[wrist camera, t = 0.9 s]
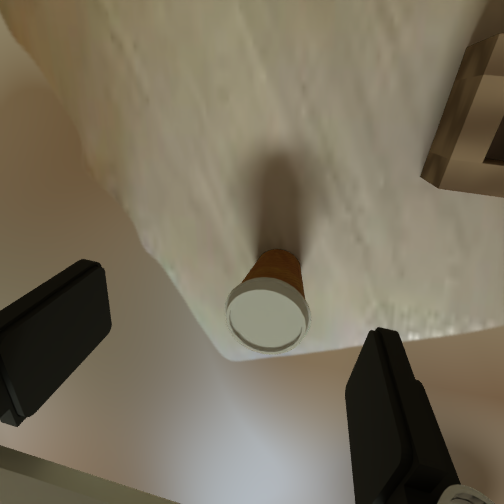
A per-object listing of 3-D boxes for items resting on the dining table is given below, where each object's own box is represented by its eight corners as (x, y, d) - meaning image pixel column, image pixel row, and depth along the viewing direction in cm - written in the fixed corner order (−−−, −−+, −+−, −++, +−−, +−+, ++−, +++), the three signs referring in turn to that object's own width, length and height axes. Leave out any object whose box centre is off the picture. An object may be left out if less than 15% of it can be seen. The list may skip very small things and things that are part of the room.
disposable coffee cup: (326, 260, 39) (329, 316, 28) (289, 307, 44) (281, 370, 33) (265, 225, 39) (245, 268, 28) (234, 276, 43) (208, 330, 33)
